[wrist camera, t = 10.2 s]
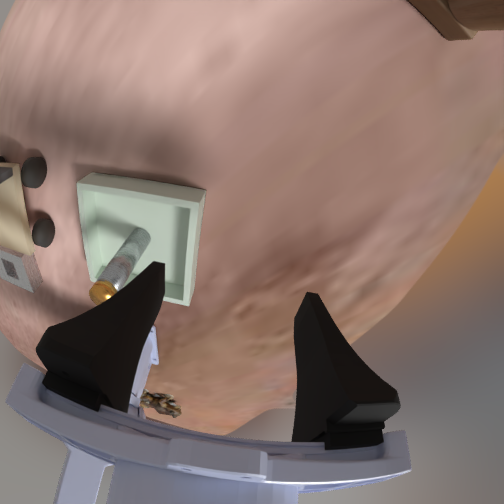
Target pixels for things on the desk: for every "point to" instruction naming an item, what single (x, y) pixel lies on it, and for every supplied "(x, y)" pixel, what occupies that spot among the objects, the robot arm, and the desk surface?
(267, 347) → the desk surface
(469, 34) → the wooden block
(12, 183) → the ramp trolley
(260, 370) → the desk surface
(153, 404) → the frog figurine
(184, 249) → the tray
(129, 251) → the pin
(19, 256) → the plate
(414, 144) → the desk surface
